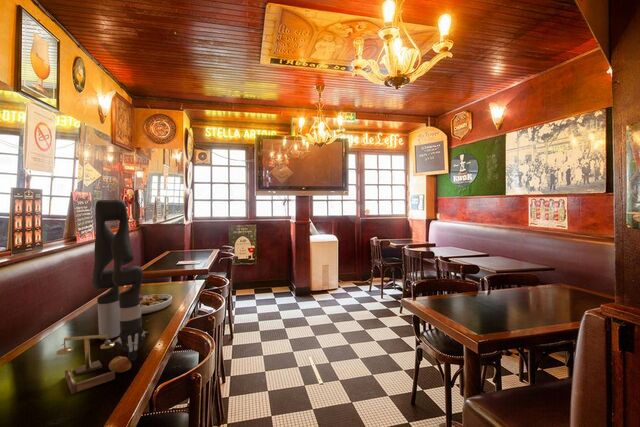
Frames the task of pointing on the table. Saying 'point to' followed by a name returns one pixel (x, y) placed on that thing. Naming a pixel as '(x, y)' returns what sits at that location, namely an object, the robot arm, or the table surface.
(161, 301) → the bowl
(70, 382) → the rail
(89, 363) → the balance
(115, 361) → the pastry
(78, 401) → the table surface
